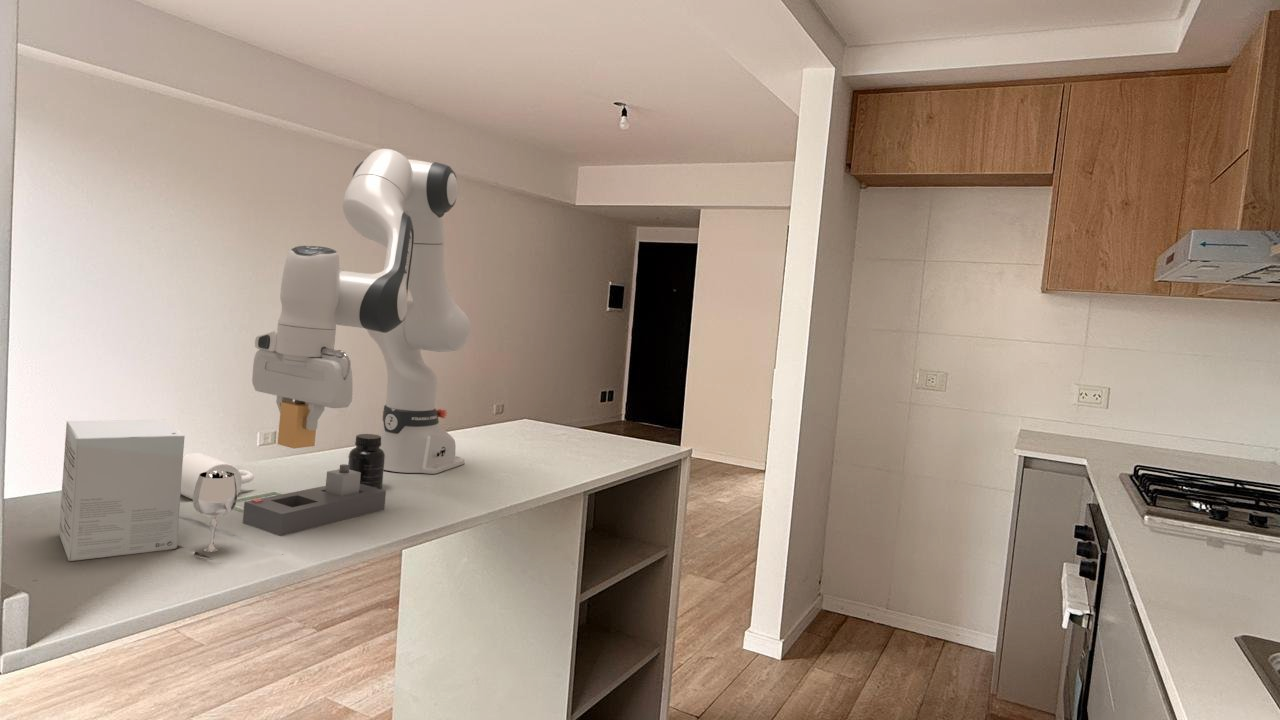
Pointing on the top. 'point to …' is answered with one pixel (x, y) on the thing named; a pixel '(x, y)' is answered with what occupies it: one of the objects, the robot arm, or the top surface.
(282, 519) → the strip
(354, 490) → the gray knobbed block
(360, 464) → the supplement bottle
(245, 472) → the mug
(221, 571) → the top surface
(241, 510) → the tray
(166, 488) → the supplement box
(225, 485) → the wineglass
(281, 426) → the plug
